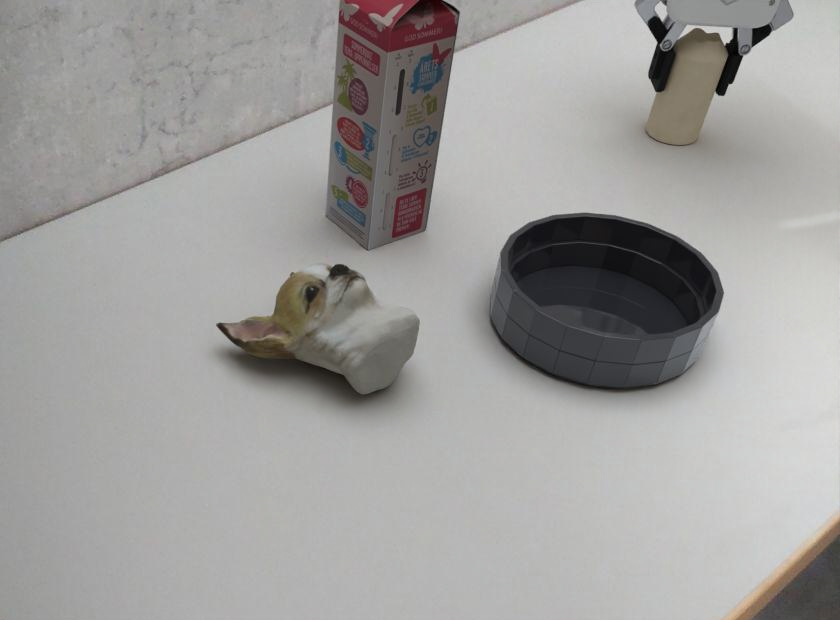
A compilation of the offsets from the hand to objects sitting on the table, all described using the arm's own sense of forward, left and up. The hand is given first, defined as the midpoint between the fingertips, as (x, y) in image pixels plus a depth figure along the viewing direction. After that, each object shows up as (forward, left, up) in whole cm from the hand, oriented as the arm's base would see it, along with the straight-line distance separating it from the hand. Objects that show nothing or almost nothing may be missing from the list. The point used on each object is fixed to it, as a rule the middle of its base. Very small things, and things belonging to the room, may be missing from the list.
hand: (687, 86), depth 97 cm
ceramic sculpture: (+52, +16, -5) cm, 55 cm away
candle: (0, 0, -5) cm, 5 cm away
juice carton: (+38, +1, -5) cm, 38 cm away
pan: (+30, +22, -5) cm, 38 cm away
